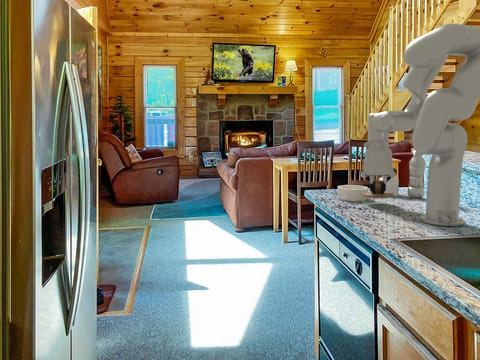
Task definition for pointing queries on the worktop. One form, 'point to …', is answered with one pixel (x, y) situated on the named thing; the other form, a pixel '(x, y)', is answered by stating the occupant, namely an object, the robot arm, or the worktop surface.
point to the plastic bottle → (416, 176)
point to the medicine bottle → (392, 184)
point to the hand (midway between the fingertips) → (377, 193)
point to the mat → (374, 204)
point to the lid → (377, 191)
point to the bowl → (352, 192)
